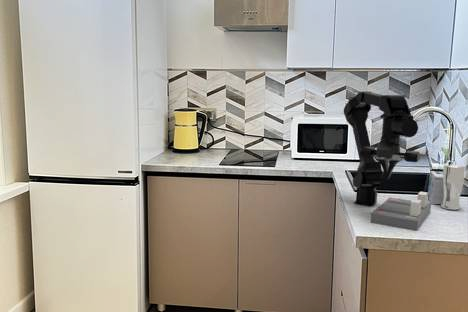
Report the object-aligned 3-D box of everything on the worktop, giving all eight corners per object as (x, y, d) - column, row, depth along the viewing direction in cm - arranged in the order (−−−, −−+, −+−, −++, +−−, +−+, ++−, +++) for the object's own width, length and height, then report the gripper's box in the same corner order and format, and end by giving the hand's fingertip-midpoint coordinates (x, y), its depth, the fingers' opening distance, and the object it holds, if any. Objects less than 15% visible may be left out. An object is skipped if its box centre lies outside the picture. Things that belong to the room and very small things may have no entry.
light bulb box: (426, 197, 180) (429, 170, 178) (445, 198, 178) (448, 171, 176) (431, 204, 169) (434, 175, 167) (451, 206, 168) (454, 177, 166)
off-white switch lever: (409, 215, 144) (410, 201, 143) (412, 212, 147) (413, 199, 147) (417, 216, 143) (419, 203, 142) (420, 213, 146) (421, 200, 145)
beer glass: (448, 205, 169) (452, 164, 168) (465, 209, 163) (469, 167, 162) (435, 206, 166) (439, 165, 165) (452, 210, 160) (456, 167, 158)
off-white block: (416, 206, 154) (418, 193, 153) (419, 204, 158) (420, 191, 157) (424, 207, 153) (425, 195, 152) (426, 205, 156) (427, 192, 156)
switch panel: (370, 222, 147) (371, 212, 146) (389, 205, 167) (389, 197, 166) (417, 230, 140) (417, 220, 139) (430, 211, 160) (431, 203, 159)
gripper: (355, 133, 150) (352, 179, 153) (416, 138, 141) (411, 188, 144) (365, 130, 160) (362, 173, 163) (422, 134, 150) (418, 181, 153)
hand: (387, 179), depth 155 cm, fingers closed
